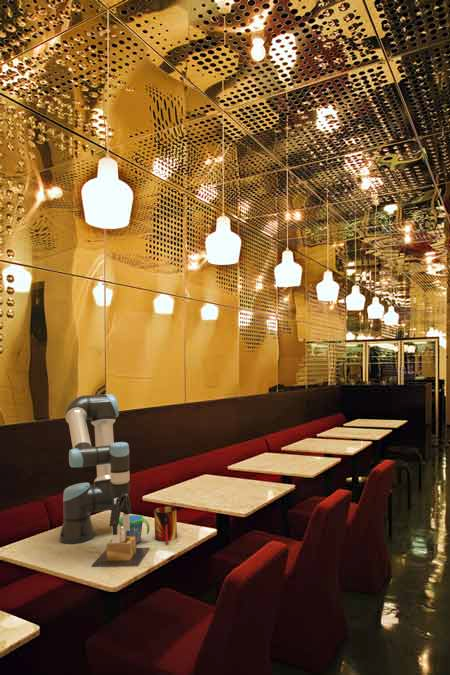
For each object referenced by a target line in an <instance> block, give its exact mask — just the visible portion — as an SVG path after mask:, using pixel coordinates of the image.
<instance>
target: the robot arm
mask: <svg viewBox="0 0 450 675" xmlns="http://www.w3.org/2000/svg"><path fill="white" fill-rule="evenodd" d="M118 404H119V403H118V400H117V398H116V396H115V395H114V394H111V393H110V394H107V393H104V394H103V393H102V394H90V395H84V394H83V395H80V396H78V397H75V398H74V399H73V400H72V401H70V402H69V404H68V405H67V407H66V409H65V414H64V416H65V422H66V423H67V424H68V426H69V427H68V428H69V433H70V437H71V438H70V440H71V444H72V449H69V452H68V463H69V467H70V468H85V467H93V466H96V478H95V479H94V481H93V485H91V484H90V483H89V482H81V483H75V484H72V485H69V486H68V487H66V488H65V489H63V496H62V497H63V498H62V502H63V523H62V525H61V526H62V527H61V530H60V534H59V542H60V543H62V544H71V545H72V544H79V543H83V542H88V541H91V540H92V539H94V538H95V536H96V534H95V533H96V531H95V528H94V525H93V522H92V519H91V513H95V512H102V511H108V510H109V511H110V517H109V524H108V525H109V527H111V540H112V543H119V542H120V536H119V526H120V525H119V519H120V518H121V516H120V515H121V513H122V517H123V526H124V527H125V531H130V517H129V516H130V514H131V515H132V513H133V512H132V506H131V502H130V496H129V493H130V491H131V483H130V475H131V474H130V472H131V471H130V445H129V443H128V442H125V441H119V442H114V440H115V438H114V424H115V422H116V418H118V417H119V416H120V414H119V405H118ZM87 420H90V423H91V425H92V426H94V438H95V439H94V440H95V442H94V443H95V446H92V443H91V439H90V437H91V436H90V434H89V428H88V425H87V424H88V423H87Z"/></svg>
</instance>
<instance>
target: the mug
mask: <svg viewBox="0 0 450 675" xmlns="http://www.w3.org/2000/svg"><path fill="white" fill-rule="evenodd" d="M153 514H154V517H153V518H154V540H155V541H157V542H165V543H169V542H171V541H174V540H177V539H178V528H177V527H178V525H177V524H178V521H177V508H176V507H174V506H164V507H157V508H156V509H154V513H153Z"/></svg>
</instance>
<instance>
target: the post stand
mask: <svg viewBox="0 0 450 675" xmlns="http://www.w3.org/2000/svg"><path fill="white" fill-rule="evenodd" d="M119 536H120V542H119V543H126V532H125V527H124V526H120V525H119ZM150 550H151V547H136V553H135V554H134V555H133V557H132V558H131V559H130V560H111V561H107V548H106V549H105V550H104V552H102V553H101V554H100V556H99V557H98V558H97V559H96V560H95V561H94V562H93V563H92V564H91V567H92V568H98V567H101V568H102V567H103V568H104V567H105V568H106V567H111V568H112V567H139V566H140V564H141V562H143V560H144V558H146V555H147V554H148V552H149V551H150Z"/></svg>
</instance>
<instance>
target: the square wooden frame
mask: <svg viewBox="0 0 450 675" xmlns="http://www.w3.org/2000/svg"><path fill="white" fill-rule="evenodd" d="M136 548H137V544H136V536H127V537H126V543H112V539H111V540H110V541H109V542H108V543H106V549H107V561H111V560H130V559H131V558H132V557H133V555H134V554H135V553H136Z"/></svg>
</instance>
